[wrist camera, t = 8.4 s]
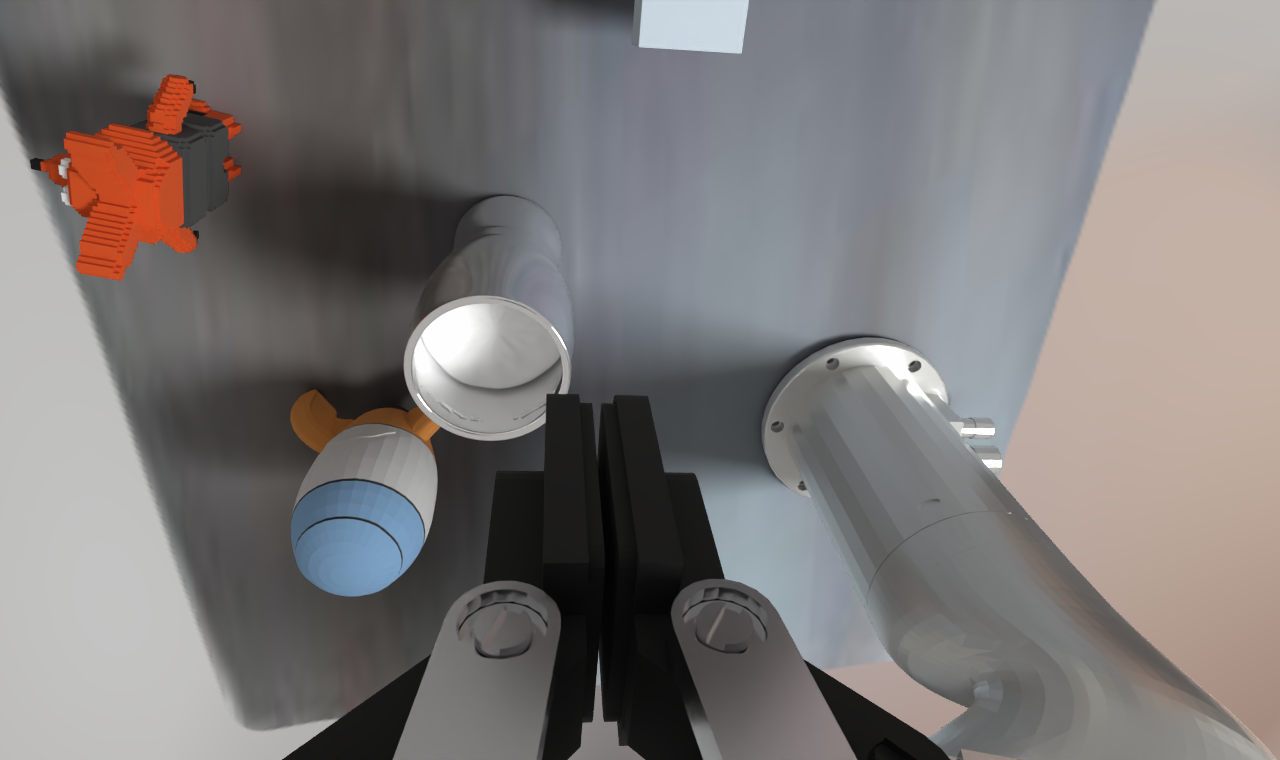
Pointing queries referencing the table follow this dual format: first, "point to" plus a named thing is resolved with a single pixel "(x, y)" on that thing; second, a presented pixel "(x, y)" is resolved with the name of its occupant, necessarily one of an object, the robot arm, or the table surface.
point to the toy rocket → (362, 495)
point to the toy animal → (146, 178)
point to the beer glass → (493, 325)
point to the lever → (690, 24)
